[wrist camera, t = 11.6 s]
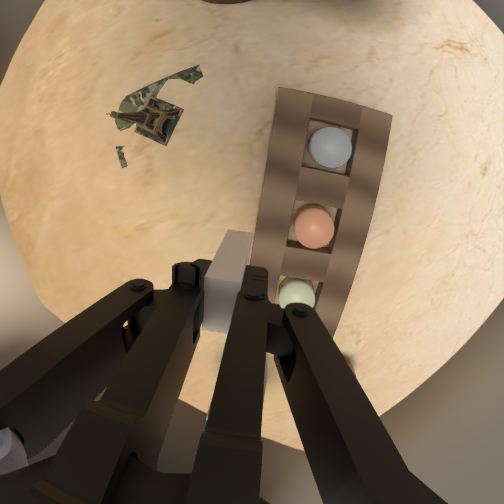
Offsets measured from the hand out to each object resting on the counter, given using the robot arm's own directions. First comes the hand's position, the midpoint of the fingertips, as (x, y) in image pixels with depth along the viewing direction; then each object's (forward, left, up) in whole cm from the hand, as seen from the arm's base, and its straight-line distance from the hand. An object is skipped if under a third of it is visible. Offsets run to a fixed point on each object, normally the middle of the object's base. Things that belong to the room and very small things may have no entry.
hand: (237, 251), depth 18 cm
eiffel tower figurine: (-9, -14, -20) cm, 26 cm away
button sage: (+12, +8, -19) cm, 24 cm away
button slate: (-8, +8, -19) cm, 22 cm away
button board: (+2, +8, -19) cm, 21 cm away
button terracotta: (+2, +8, -19) cm, 21 cm away
